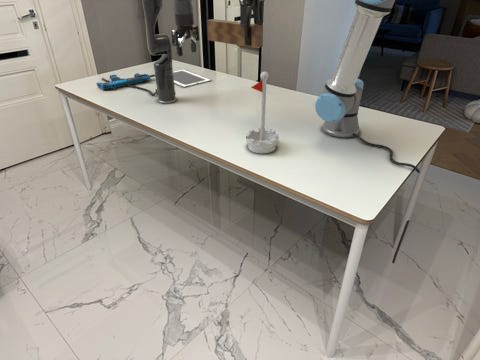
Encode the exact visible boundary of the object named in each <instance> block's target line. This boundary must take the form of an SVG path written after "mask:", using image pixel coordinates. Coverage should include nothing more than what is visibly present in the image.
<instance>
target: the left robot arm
mask: <svg viewBox="0 0 480 360" xmlns="http://www.w3.org/2000/svg"><path fill="white" fill-rule="evenodd" d="M141 2H142V8H143V16H144V22H145V32H146V33H145V34H146V45H147V49H148V50H147V51H148V52H149V54H150V55H151V56H161V55H162V56H161V57H160V58H159V59H157V60H155V61H154V62H153V71H154V74H155V77H154V78H155V85H156V88H155V89H154V92H152V90H150V89H147V88H144V87H140V86H136V85H132V84H128V85H123V87H129V88H133V89H138V90H143V91H146V92H148V93H149V94H150V95H151V96H152V97H153V96H157V102H159V103H160V104H172V103H175V102H176V101H177V96H176V94H177V92H176V87H175V83H174V77H173V72H174V70H173V69H174V68H173V52H172V51H173V50H172V46H174V47H176V55H177V56H178V57H183V56H184V55H183V54H184V53H183V44H184V42H185V40H186V41H187V40H189V42H190V51H191V53H196V52H197V42H199V41H200V32H199V31H200V30H199V26H198V25H195V22H194V21H195V20H194V6H193V2H192V0H173V14H174V24H175V26H176V29H171V30H170V32H171V37H170V36H169V34H167V33H158V34H156V31H155V30H156V24H157V20H158V18H159V16H160V13H161V11H162V8H163V4H164V0H141ZM101 80H103V81H105V82H111V81H112V80H108V79H105V78H104V77H102V78H101Z"/></svg>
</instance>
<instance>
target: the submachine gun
mask: <svg viewBox="0 0 480 360" xmlns="http://www.w3.org/2000/svg"><path fill="white" fill-rule="evenodd" d="M151 78H155V73H154V74H147V73H142V74H141V73H139V72H137V73H135V74H133V77H128V78H121V77H119V76H118V75H117V74H110V75H109V79H111V80H110V81H111V82H107V81H105V82H96V83H95V84H96V87H98V88H99V89H101V90H102V91H103V90H109V89H113V90H116V88H118V87H119V88H120V87H122V86H123V85H133V84H138V83H142V82H148V81H149V80H150V79H151ZM123 87H124V86H123Z"/></svg>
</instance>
